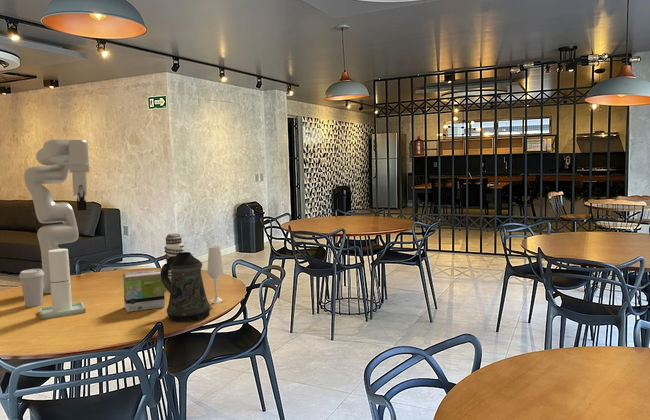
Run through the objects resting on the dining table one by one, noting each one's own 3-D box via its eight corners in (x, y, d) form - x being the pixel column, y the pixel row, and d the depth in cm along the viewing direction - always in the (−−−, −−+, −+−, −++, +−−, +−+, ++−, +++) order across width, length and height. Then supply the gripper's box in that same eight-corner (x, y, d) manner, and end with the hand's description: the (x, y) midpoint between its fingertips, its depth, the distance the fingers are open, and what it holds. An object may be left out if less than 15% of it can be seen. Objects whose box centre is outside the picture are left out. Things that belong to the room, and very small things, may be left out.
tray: (39, 311, 205) (39, 307, 205) (82, 305, 213) (82, 301, 213) (40, 319, 195) (40, 314, 195) (85, 312, 203) (85, 308, 203)
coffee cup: (35, 308, 210) (32, 273, 208) (15, 307, 212) (12, 273, 210) (51, 302, 219) (49, 268, 218) (33, 301, 221) (30, 268, 220)
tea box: (127, 313, 201) (124, 277, 200) (124, 307, 210) (122, 272, 209) (165, 307, 208) (163, 272, 207) (161, 301, 217) (159, 268, 215)
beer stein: (207, 321, 188) (204, 256, 186) (154, 324, 187) (150, 258, 184) (213, 308, 205) (210, 248, 202) (164, 311, 203) (161, 250, 201)
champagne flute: (220, 304, 211) (218, 248, 209) (206, 303, 213) (203, 247, 210) (227, 299, 218) (224, 245, 216) (212, 299, 219) (210, 245, 217)
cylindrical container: (48, 312, 203) (43, 251, 200) (63, 307, 209) (59, 248, 207) (61, 313, 200) (56, 252, 197) (76, 308, 206) (72, 249, 204)
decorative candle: (177, 280, 254) (175, 232, 252) (189, 283, 249) (187, 233, 246) (162, 284, 247) (159, 234, 244) (174, 287, 242) (171, 236, 239)
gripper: (69, 168, 217) (71, 208, 219) (69, 169, 202) (72, 211, 204) (88, 168, 221) (90, 207, 223) (90, 169, 206) (92, 210, 207)
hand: (81, 209), depth 213 cm, fingers open, 9 cm apart
